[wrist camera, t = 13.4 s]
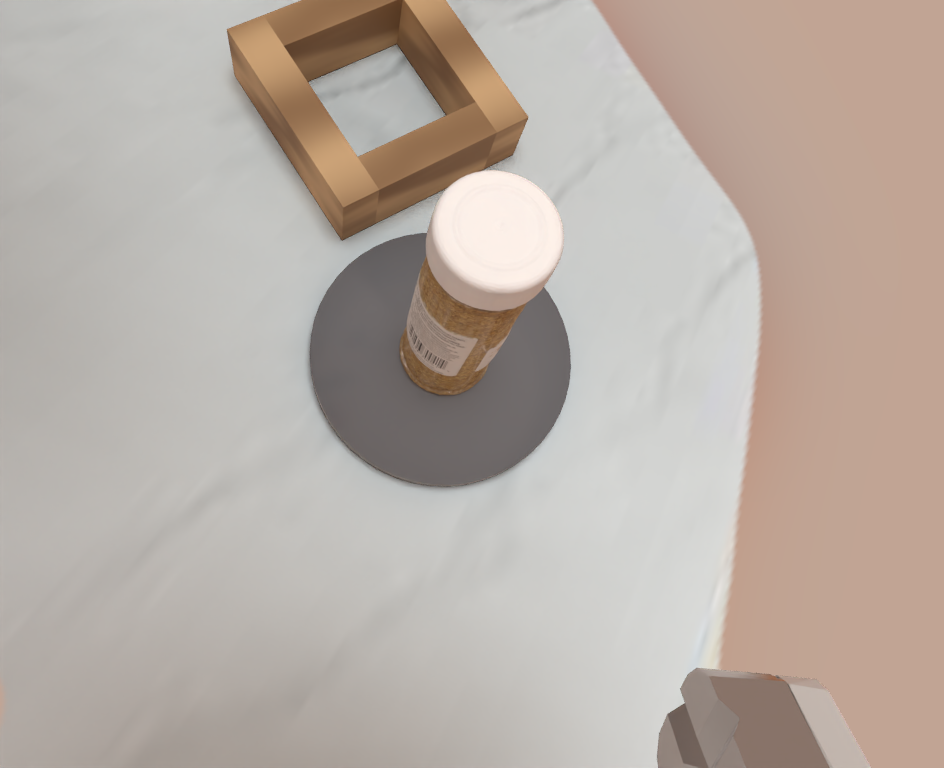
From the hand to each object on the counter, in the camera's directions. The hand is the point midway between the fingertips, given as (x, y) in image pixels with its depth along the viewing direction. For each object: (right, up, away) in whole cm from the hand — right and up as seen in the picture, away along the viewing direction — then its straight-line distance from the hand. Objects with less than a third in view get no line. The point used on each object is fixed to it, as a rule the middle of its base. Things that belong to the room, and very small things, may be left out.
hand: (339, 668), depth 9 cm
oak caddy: (-4, +18, +34) cm, 38 cm away
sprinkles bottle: (0, +5, +30) cm, 30 cm away
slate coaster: (0, +4, +30) cm, 31 cm away
